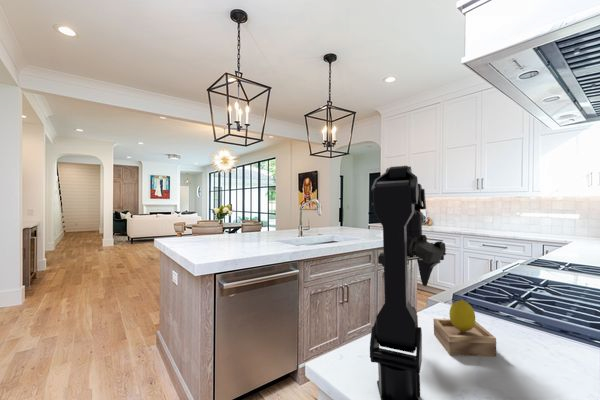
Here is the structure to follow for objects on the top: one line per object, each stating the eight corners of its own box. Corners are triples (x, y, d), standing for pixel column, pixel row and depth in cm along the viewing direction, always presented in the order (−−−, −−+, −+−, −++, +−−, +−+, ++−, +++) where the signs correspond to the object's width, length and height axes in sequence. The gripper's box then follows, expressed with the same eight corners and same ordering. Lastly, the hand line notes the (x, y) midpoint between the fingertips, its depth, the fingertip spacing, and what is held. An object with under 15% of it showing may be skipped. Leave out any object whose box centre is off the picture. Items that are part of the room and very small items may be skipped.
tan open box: (449, 354, 65) (449, 336, 65) (434, 334, 75) (433, 318, 75) (496, 356, 63) (495, 338, 63) (474, 335, 73) (473, 319, 73)
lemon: (479, 338, 66) (478, 304, 66) (453, 336, 67) (453, 302, 67) (470, 328, 71) (470, 297, 71) (447, 326, 72) (446, 295, 72)
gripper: (407, 236, 65) (409, 303, 65) (461, 231, 73) (463, 291, 73) (376, 232, 76) (377, 290, 75) (426, 228, 83) (427, 280, 83)
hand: (412, 288), depth 76 cm, fingers open, 9 cm apart
